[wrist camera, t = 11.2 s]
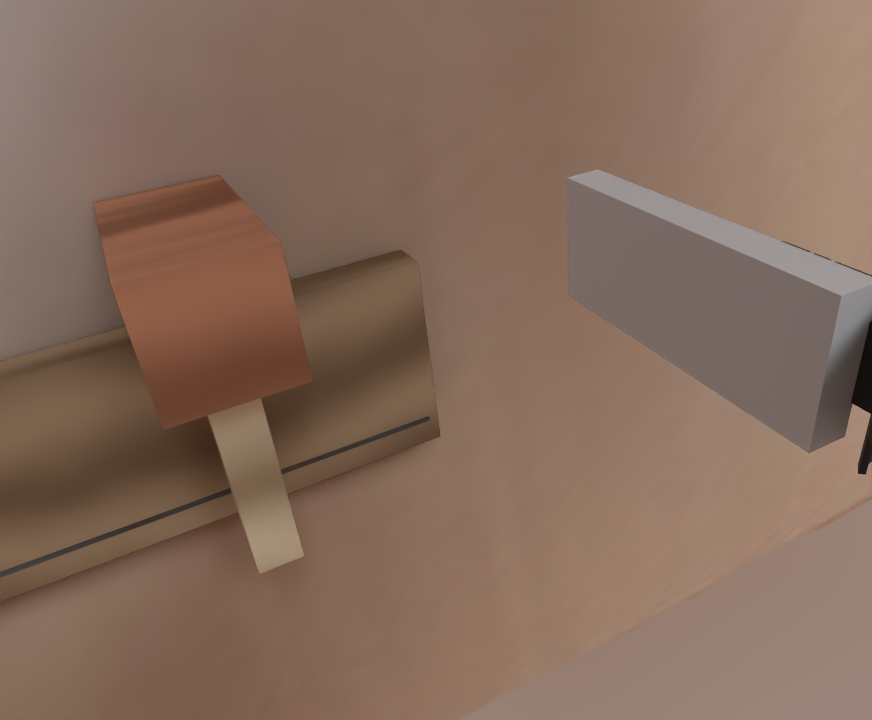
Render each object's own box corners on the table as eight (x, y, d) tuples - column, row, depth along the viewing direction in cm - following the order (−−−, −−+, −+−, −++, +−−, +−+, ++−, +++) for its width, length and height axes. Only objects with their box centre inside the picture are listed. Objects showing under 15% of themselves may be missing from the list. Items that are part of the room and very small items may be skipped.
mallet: (93, 202, 29) (111, 287, 21) (219, 175, 30) (281, 243, 22) (196, 494, 36) (239, 639, 28) (293, 460, 38) (359, 587, 30)
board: (-376, 465, 26) (-404, 498, 24) (400, 249, 35) (418, 262, 34) (-218, 652, 31) (-233, 690, 29) (424, 418, 40) (441, 436, 39)
